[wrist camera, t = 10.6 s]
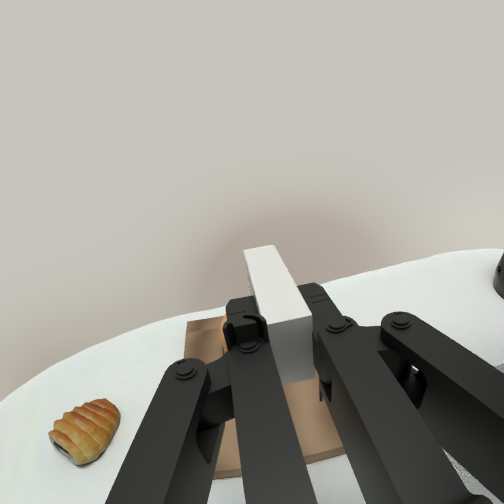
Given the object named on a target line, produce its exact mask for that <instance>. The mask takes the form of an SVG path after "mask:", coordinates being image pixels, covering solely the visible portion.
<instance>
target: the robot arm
mask: <svg viewBox="0 0 504 504" xmlns="http://www.w3.org/2000/svg"><path fill="white" fill-rule="evenodd" d="M243 252H244V258H245V263H246V269H247V275H248V281H249V287H250V292H251V296H248V297H243V298H237V299H232V300H230V301H229V302H228V304H227V306H226V318H227V321H226V322H225V323H224V324H223V328H222V330H223V334H224V338H225V342H226V346H227V352H226V353H225V354H224V355H223V356H222V357H220V358H219V359H217V360H215V361H213V362H211V363H208V364H205V363H204V362H203V361H201V360H200V359H196V358H186V359H182V360H179V361H176V362H175V363H173V364H172V365H170V366H169V367H168V369H167V370H166V371H165V374H164V376H163V378H162V380H161V382H160V384H159V386H158V388H157V390H156V392H155V395H154V397H153V399H152V401H151V403H150V405H149V407H148V409H147V412H146V414H145V416H144V418H143V420H142V422H141V424H140V427H139V429H138V431H137V433H136V435H135V438H134V440H133V442H132V444H131V446H130V448H129V451H128V453H127V455H126V457H125V459H124V462H123V464H122V466H121V468H120V471H119V473H118V475H117V477H116V480H115V482H114V484H113V486H112V489H111V491H110V493H109V495H108V498H107V500H106V502H105V504H207V501H208V497H209V493H210V489H211V484H212V480H213V476H214V472H215V467H216V463H217V459H218V455H219V450H220V446H221V442H222V438H223V433H224V429H225V422H226V421H229V420H231V419H233V418H235V423H236V432H237V440H238V448H239V456H240V464H241V471H242V479H243V486H244V493H245V500H246V504H317V500H316V497H315V494H314V490H313V487H312V484H311V480H310V477H309V474H308V470H307V467H306V464H305V460H304V457H303V454H302V450H301V447H300V444H299V440H298V437H297V434H296V430H295V427H294V423H293V420H292V417H291V413H290V410H289V406H288V403H287V400H286V396H285V393H284V389H283V386H282V385H286V384H290V383H295V382H299V381H304V380H308V379H312V378H315V369H316V371H317V373H318V376H319V400H320V402H321V401H323V398H324V400H325V402H326V405H327V407H328V410H329V412H330V415H331V417H332V420H333V422H334V424H335V427H336V429H337V432H338V434H339V437H340V439H341V442H342V444H343V447H344V449H345V452H346V454H347V457H348V459H349V461H350V464H351V466H352V469H353V471H354V474H355V476H356V479H357V481H358V484H359V486H360V489H361V491H362V494H363V496H364V499H365V501H366V504H493V503H492V502H491V500H490V499H489V498H487V497H485V496H484V495H475V494H472V493H470V492H469V491H468V490H467V488H466V487H465V485H464V483H463V482H462V480H461V478H460V477H459V475H458V473H457V472H456V470H455V469H454V467H453V465H452V464H451V462H450V461H449V459H448V457H447V456H446V454H445V453H444V451H443V449H444V450H445V451H446V452H447V453H448V454H450V455H451V456H452V457H453V458H454V459H455V460H456V461H457V462H458V463H459V464H460V465H462V466H463V467H464V468H465V469H466V470H467V471H468V472H469V473H470V474H471V475H473V476H474V477H475V478H476V479H477V480H478V481H479V482H480V483H481V484H482V485H484V486H485V487H486V488H487V489H488V490H489V491H490V492H491V493H492V494H493V495H495V496H496V497H497V498H498V499H499V500H500V501H501V502H502V503H503V504H504V373H502V372H501V371H499V370H498V369H496V368H495V367H493V366H492V365H490V364H489V363H487V362H486V361H484V360H483V359H481V358H480V357H478V356H477V355H475V354H474V353H472V352H471V351H469V350H468V349H466V348H465V347H463V346H462V345H460V344H459V343H457V342H455V341H454V340H452V339H451V338H449V337H448V336H446V335H445V334H443V333H441V332H440V331H438V330H437V329H435V328H434V327H432V326H430V325H429V324H427V323H426V322H424V321H423V320H421V319H419V318H418V317H416V316H415V315H412V314H410V313H407V312H393V313H390V314H387V315H386V316H384V317H383V319H382V321H381V326H369V327H365V326H359V325H358V324H357V323H356V322H355V321H354V320H353V319H352V318H350V317H347V316H342V314H341V313H340V311H339V310H338V309H337V307H336V306H335V304H334V303H333V301H332V300H331V299H330V297H329V296H328V295H327V293H326V291H325V290H324V288H323V287H322V286H320V285H318V284H316V283H309V284H304V285H300V286H296V284H295V283H294V281H293V279H292V277H291V276H290V274H289V272H288V270H287V268H286V266H285V265H284V263H283V261H282V259H281V257H280V255H279V254H278V252H277V250H276V248H275V247H274V245H269V246H263V247H257V248H253V249H247V250H243ZM493 283H494V287H495V289H496V290H497V292H498V293H499V294H500V295H501V296H502V297H503V298H504V253H503V255H502V257H501V259H500V262H499V264H498V266H497V268H496V271H495V276H494V282H493ZM412 365H413V366H415V367H416V368H417V369H418V370H419V371H417V370H415V369H414V368H412ZM441 447H442V448H443V449H442V448H441Z"/></svg>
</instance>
